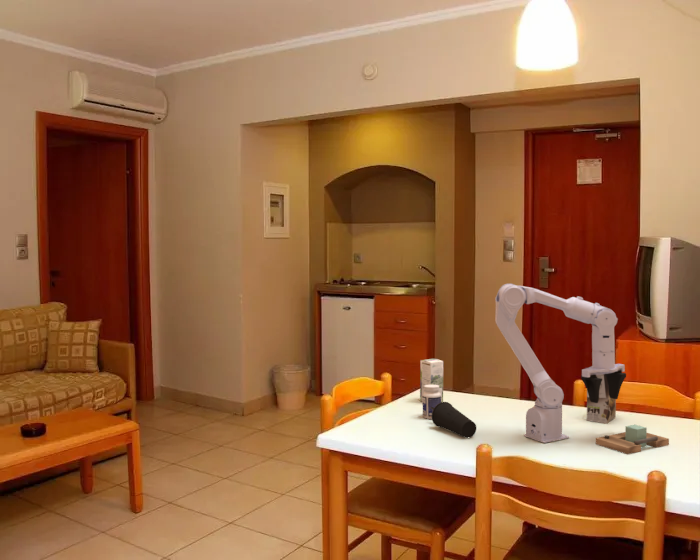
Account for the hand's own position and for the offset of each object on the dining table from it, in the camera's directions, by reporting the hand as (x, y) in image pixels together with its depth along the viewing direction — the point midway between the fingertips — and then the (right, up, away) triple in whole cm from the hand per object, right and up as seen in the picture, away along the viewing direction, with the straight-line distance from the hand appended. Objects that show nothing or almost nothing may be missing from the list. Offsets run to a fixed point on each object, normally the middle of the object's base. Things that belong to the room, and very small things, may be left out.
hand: (604, 400), depth 177 cm
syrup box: (-41, -9, +45) cm, 62 cm away
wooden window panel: (+5, -11, -6) cm, 13 cm away
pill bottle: (-44, -10, +25) cm, 51 cm away
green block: (+6, -11, -7) cm, 14 cm away
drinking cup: (-37, -8, +1) cm, 37 cm away
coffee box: (+7, -10, +20) cm, 24 cm away
